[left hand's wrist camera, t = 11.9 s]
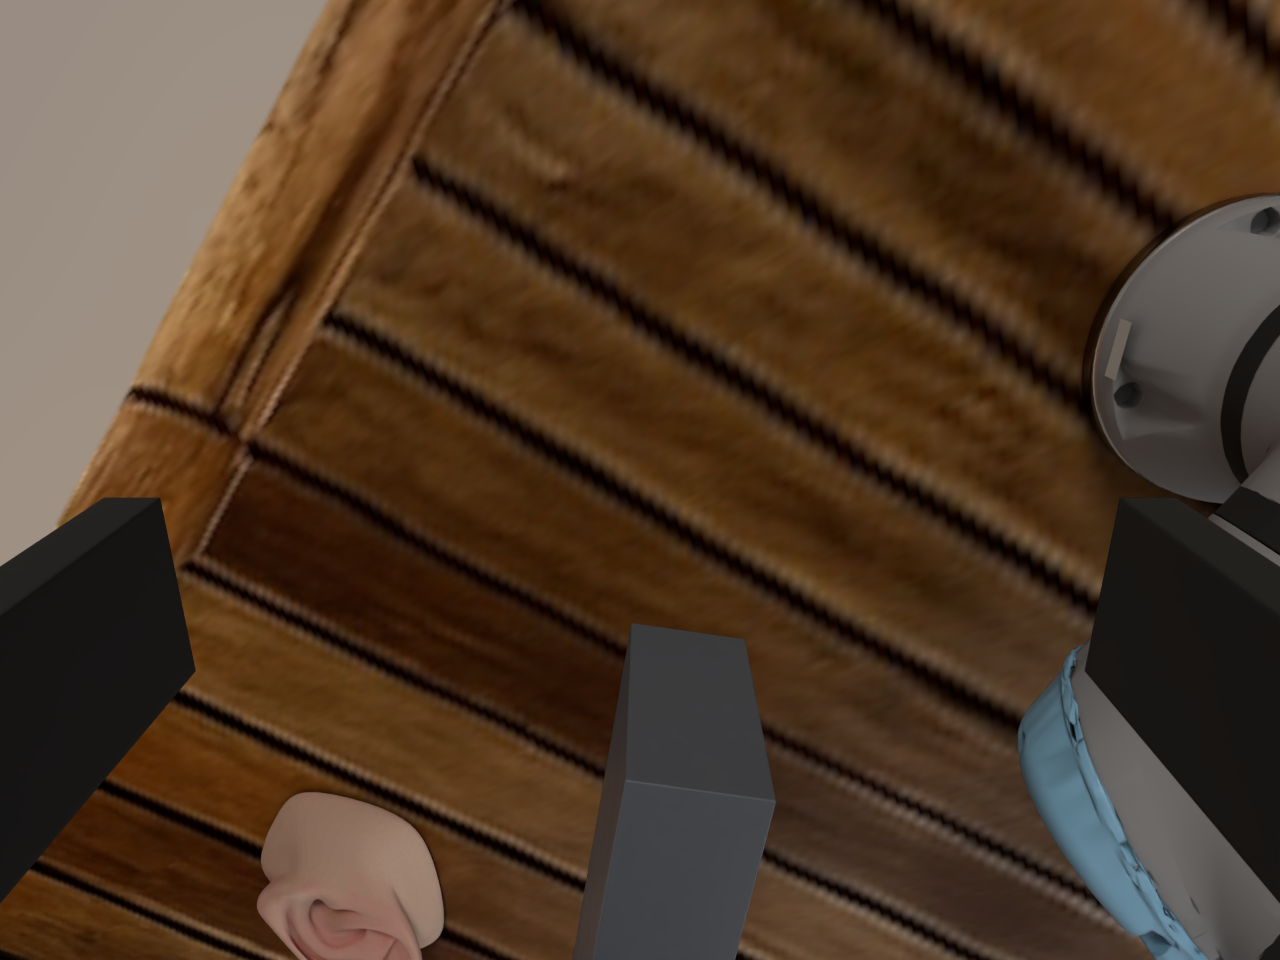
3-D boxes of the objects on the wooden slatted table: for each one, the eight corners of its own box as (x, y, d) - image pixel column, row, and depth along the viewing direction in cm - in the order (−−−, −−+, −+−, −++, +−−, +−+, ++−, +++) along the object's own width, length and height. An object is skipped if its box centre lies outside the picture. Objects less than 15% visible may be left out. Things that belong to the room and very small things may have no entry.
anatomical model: (225, 834, 51) (426, 843, 51) (253, 787, 55) (440, 795, 55) (249, 1002, 56) (432, 1009, 56) (273, 949, 60) (445, 955, 60)
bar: (631, 622, 35) (625, 780, 26) (745, 638, 35) (776, 801, 26) (558, 1041, 43) (534, 1270, 34) (651, 1053, 43) (651, 1284, 34)
